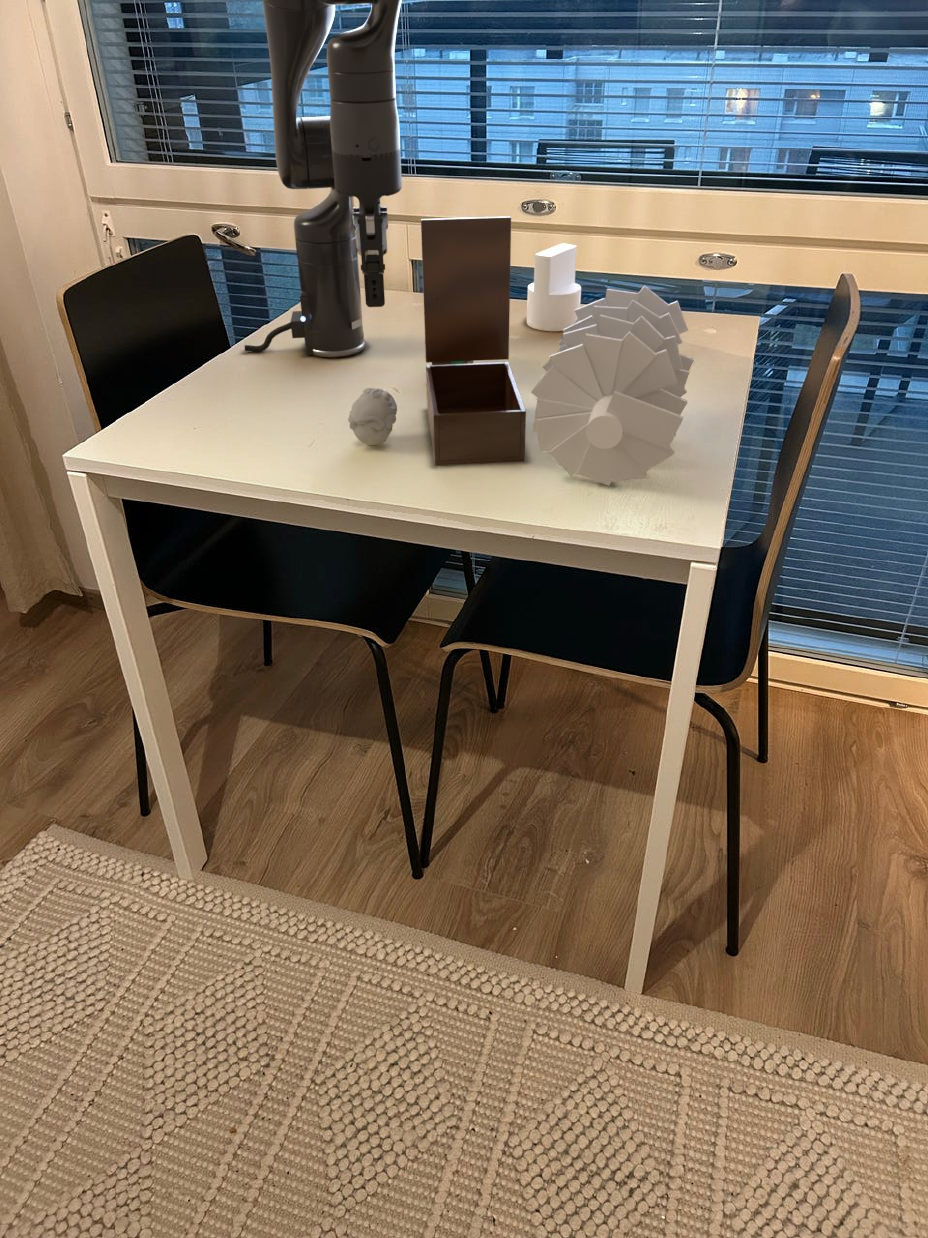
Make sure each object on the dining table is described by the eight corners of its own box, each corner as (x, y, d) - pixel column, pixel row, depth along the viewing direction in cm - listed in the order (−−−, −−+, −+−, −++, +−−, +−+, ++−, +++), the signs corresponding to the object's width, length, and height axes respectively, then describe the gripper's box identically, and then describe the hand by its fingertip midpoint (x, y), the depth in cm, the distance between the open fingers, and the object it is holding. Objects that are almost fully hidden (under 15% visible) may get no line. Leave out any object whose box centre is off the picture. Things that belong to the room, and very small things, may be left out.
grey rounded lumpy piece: (408, 437, 122) (406, 386, 118) (378, 457, 117) (374, 405, 113) (371, 428, 125) (367, 378, 121) (339, 447, 120) (334, 395, 116)
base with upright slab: (544, 311, 166) (547, 240, 159) (588, 320, 161) (593, 247, 154) (516, 324, 160) (518, 251, 153) (561, 334, 155) (565, 259, 148)
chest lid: (511, 217, 115) (506, 209, 119) (421, 220, 115) (419, 211, 118) (508, 359, 126) (504, 347, 129) (425, 362, 125) (424, 351, 129)
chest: (524, 461, 116) (526, 411, 112) (434, 465, 115) (433, 415, 112) (507, 407, 130) (508, 361, 126) (427, 411, 129) (425, 364, 126)
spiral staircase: (560, 519, 112) (588, 426, 131) (704, 476, 104) (711, 384, 123) (496, 385, 103) (536, 306, 123) (647, 327, 96) (665, 253, 115)
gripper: (333, 135, 108) (344, 278, 117) (329, 158, 96) (342, 315, 106) (398, 133, 108) (404, 276, 118) (402, 156, 97) (408, 312, 106)
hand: (375, 294), depth 112 cm, fingers open, 8 cm apart
